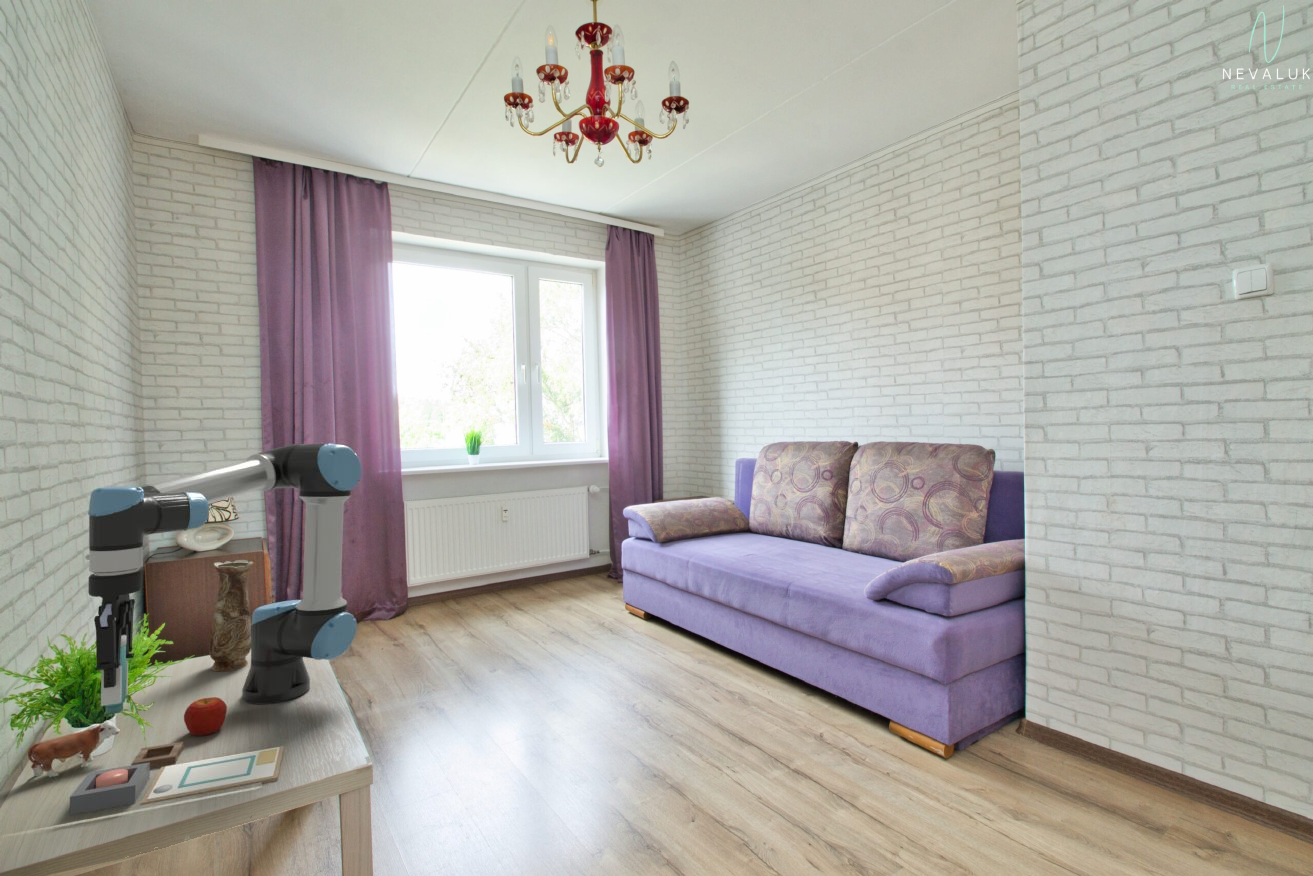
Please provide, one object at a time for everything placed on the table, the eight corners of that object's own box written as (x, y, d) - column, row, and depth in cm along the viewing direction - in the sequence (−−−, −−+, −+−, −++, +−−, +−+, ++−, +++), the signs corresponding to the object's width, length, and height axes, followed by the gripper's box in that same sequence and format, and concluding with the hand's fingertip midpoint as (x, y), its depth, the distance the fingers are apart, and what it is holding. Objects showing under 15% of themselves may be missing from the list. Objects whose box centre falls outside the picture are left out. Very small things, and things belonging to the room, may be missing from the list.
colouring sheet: (161, 769, 126) (161, 765, 126) (284, 748, 135) (284, 744, 135) (140, 806, 113) (140, 801, 113) (277, 780, 122) (277, 775, 122)
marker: (127, 706, 118) (128, 633, 118) (122, 713, 115) (123, 638, 115) (106, 709, 117) (107, 636, 117) (100, 716, 114) (101, 640, 114)
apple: (189, 745, 136) (190, 708, 136) (178, 734, 141) (179, 699, 141) (231, 732, 142) (232, 697, 142) (219, 722, 147) (219, 688, 147)
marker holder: (141, 757, 131) (141, 748, 131) (183, 750, 134) (183, 741, 134) (131, 773, 124) (131, 763, 124) (175, 765, 127) (175, 756, 127)
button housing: (88, 791, 118) (89, 772, 118) (149, 780, 122) (149, 762, 122) (69, 817, 110) (70, 796, 110) (135, 805, 113) (135, 785, 113)
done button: (100, 788, 117) (100, 772, 117) (130, 783, 118) (131, 767, 119) (91, 800, 113) (92, 783, 113) (123, 795, 115) (123, 778, 115)
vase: (238, 657, 191) (240, 558, 191) (260, 663, 186) (261, 561, 186) (200, 668, 182) (202, 563, 182) (221, 675, 177) (223, 567, 177)
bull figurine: (120, 760, 129) (121, 720, 129) (27, 786, 119) (28, 743, 119) (116, 753, 132) (117, 714, 132) (25, 778, 122) (26, 735, 122)
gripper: (105, 565, 122) (103, 687, 121) (72, 582, 107) (70, 721, 107) (153, 562, 125) (152, 681, 125) (128, 578, 110) (126, 713, 110)
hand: (114, 699), depth 116 cm, fingers closed on marker, 3 cm apart
